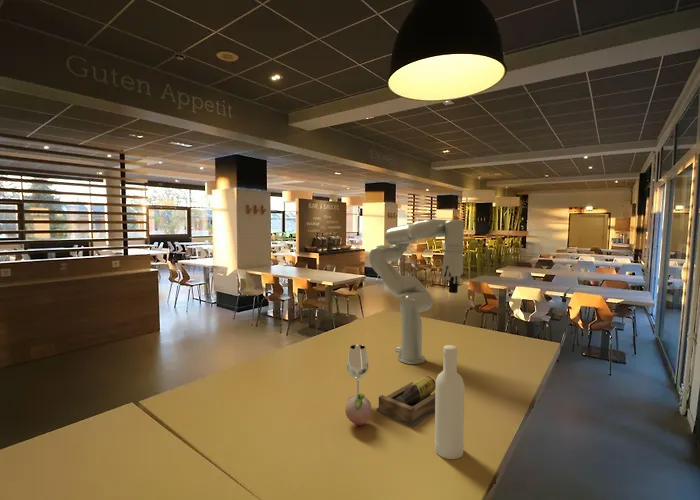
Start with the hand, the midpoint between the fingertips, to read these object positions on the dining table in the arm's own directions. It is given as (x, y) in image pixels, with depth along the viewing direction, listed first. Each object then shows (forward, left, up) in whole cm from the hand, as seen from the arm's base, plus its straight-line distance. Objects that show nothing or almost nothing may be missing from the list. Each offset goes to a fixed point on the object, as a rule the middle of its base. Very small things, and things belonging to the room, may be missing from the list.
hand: (453, 292), depth 158 cm
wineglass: (-13, -46, -35) cm, 59 cm away
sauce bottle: (+3, -23, -31) cm, 39 cm away
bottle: (+26, -51, -35) cm, 67 cm away
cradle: (+4, -36, -35) cm, 50 cm away
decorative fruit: (-2, -58, -35) cm, 68 cm away
